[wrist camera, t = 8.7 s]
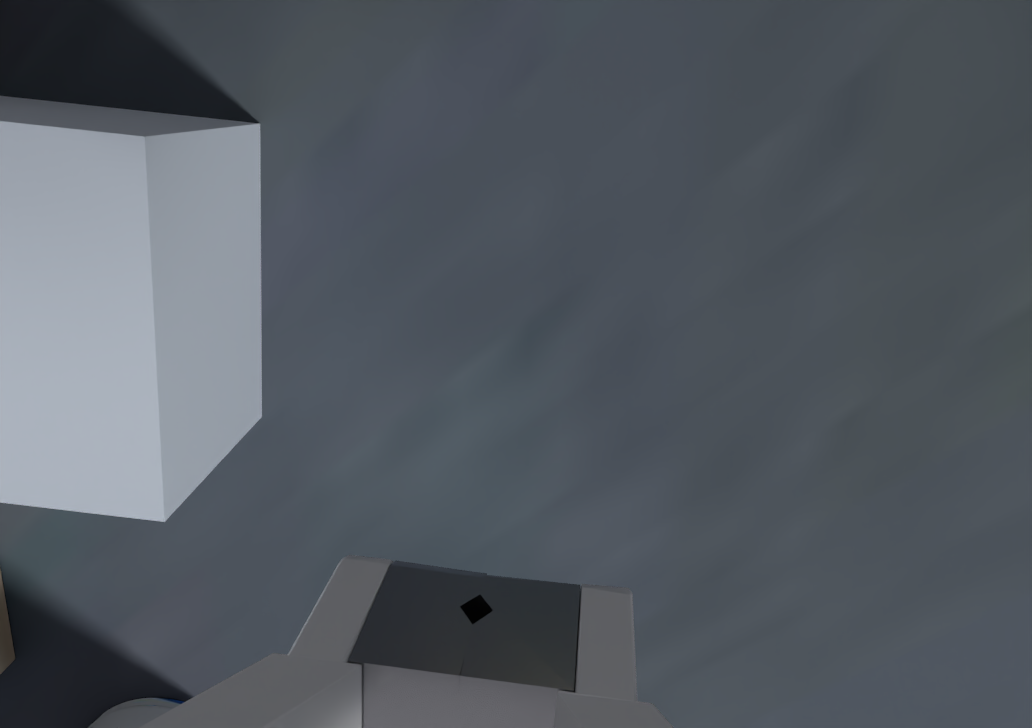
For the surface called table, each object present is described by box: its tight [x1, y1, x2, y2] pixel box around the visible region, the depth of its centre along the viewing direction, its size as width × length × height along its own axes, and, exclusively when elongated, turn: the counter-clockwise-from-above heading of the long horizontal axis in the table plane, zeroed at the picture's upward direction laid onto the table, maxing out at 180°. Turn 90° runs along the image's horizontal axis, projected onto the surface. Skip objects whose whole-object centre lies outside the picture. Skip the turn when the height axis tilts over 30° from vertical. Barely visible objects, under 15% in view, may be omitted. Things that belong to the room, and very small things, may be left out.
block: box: [0, 96, 262, 522], centre depth 19 cm, size 8×8×6 cm
